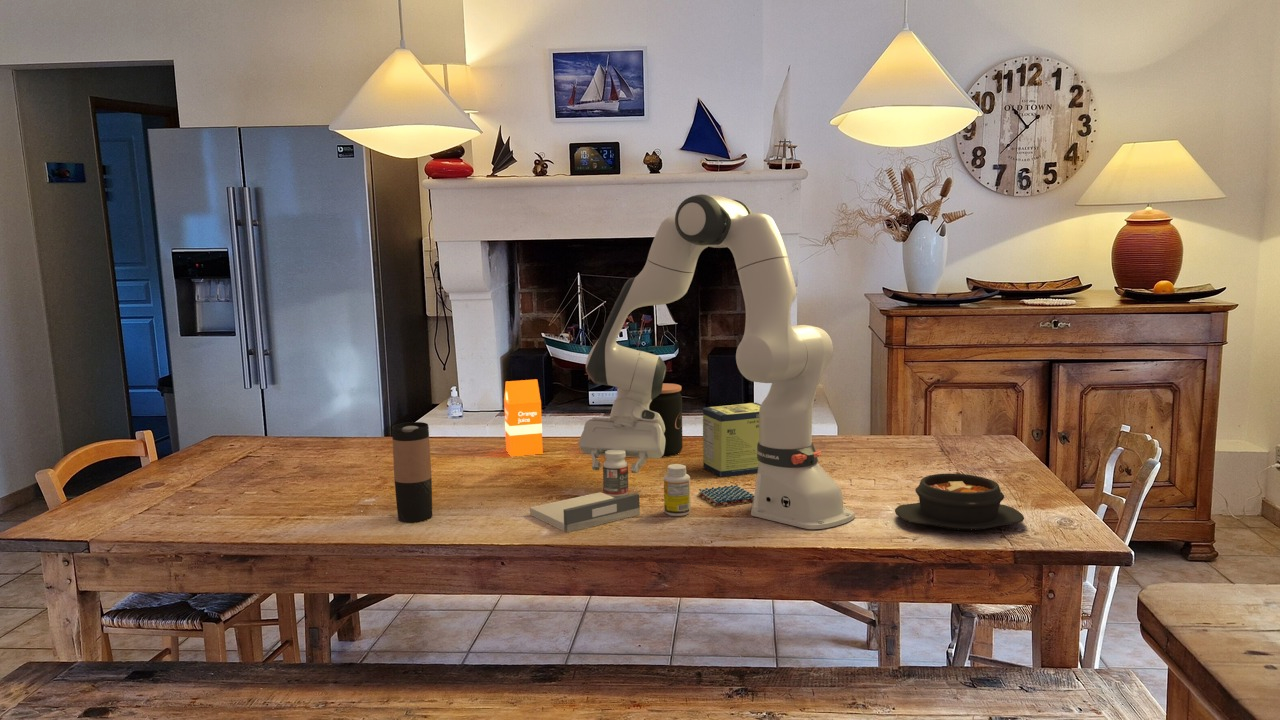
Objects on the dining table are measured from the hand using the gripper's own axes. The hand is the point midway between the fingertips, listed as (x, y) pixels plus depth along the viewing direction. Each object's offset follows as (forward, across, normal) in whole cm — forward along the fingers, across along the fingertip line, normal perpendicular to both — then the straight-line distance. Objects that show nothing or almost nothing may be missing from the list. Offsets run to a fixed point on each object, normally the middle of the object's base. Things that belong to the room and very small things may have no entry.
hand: (614, 470), depth 211 cm
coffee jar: (-24, -1, +33) cm, 41 cm away
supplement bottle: (+11, +18, -3) cm, 21 cm away
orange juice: (-17, -38, +26) cm, 49 cm away
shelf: (+15, -1, -7) cm, 17 cm away
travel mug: (+24, -35, -15) cm, 45 cm away
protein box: (-16, +22, +24) cm, 37 cm away
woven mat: (+2, +25, +7) cm, 26 cm away
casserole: (+4, +74, +4) cm, 74 cm away
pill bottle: (+4, 0, +4) cm, 6 cm away
